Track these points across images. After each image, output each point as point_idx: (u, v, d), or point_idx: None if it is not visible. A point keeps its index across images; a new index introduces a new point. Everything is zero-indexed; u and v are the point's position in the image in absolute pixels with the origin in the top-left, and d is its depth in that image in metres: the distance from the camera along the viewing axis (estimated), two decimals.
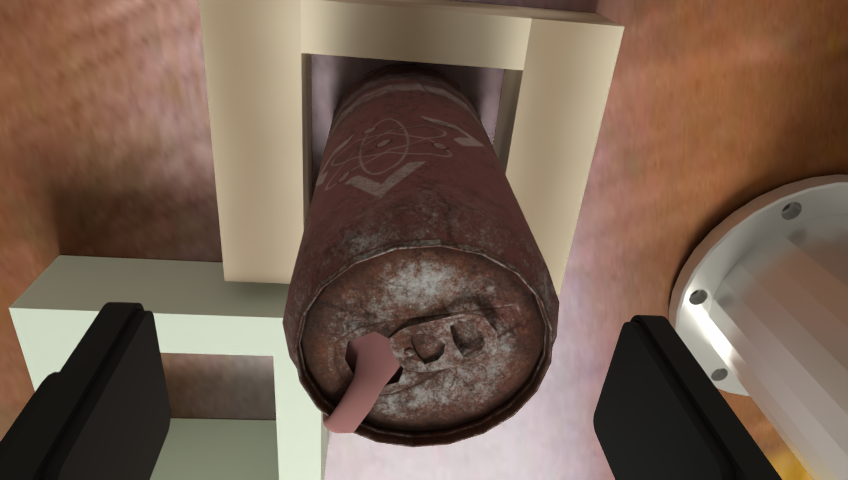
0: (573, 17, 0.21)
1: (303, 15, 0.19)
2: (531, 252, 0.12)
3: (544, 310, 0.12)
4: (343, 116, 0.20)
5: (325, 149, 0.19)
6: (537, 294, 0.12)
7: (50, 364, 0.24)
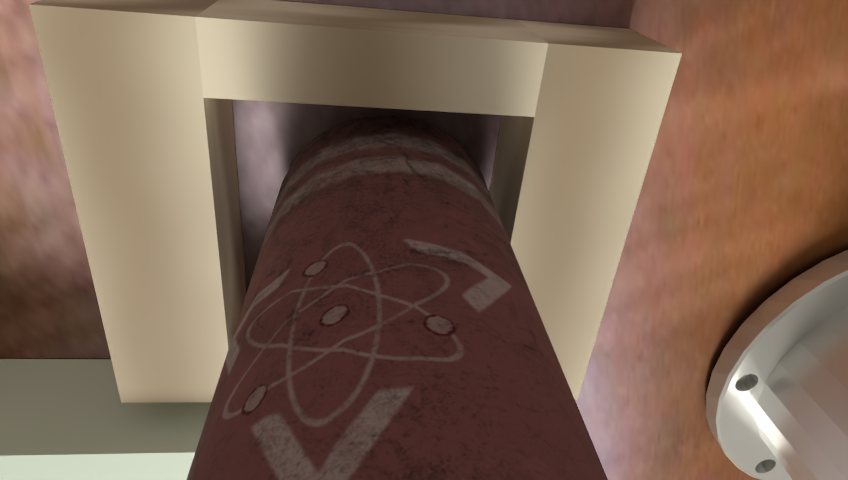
0: (604, 38, 0.14)
1: (202, 42, 0.12)
2: None
3: None
4: (285, 210, 0.13)
5: (256, 265, 0.12)
6: None
7: None
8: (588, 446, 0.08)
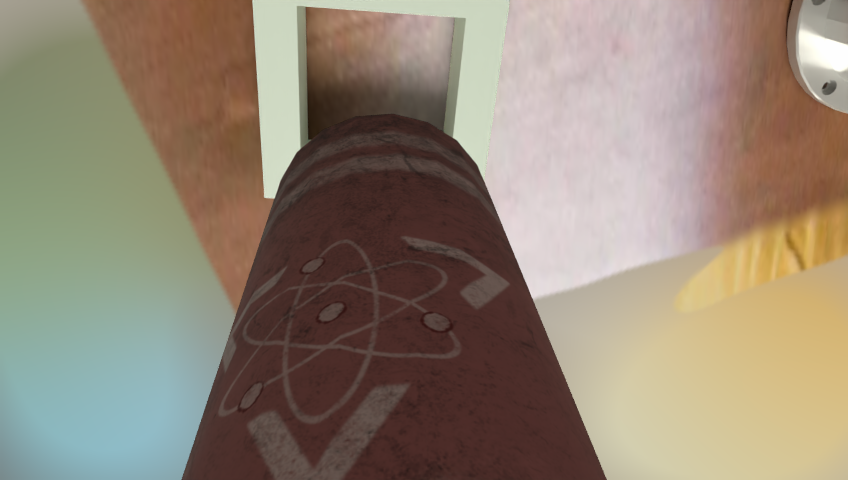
0: None
1: None
2: None
3: None
4: (283, 207, 0.13)
5: (253, 263, 0.12)
6: None
7: (274, 22, 0.27)
8: (586, 444, 0.08)
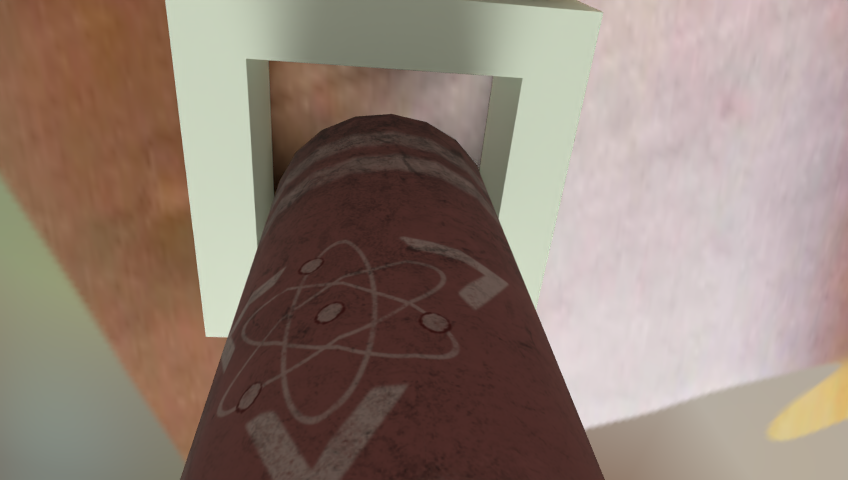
0: None
1: None
2: None
3: None
4: (282, 208, 0.13)
5: (252, 263, 0.12)
6: None
7: (209, 85, 0.17)
8: (584, 444, 0.08)
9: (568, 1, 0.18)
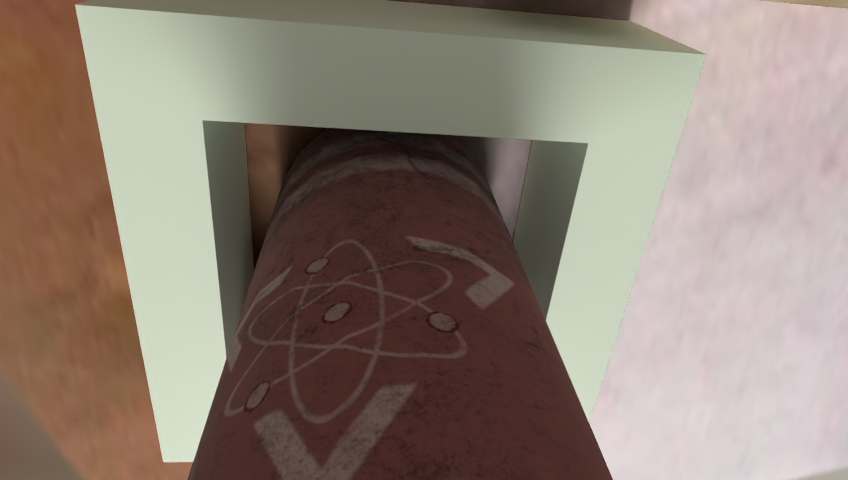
0: None
1: None
2: None
3: None
4: (286, 207, 0.13)
5: (257, 263, 0.12)
6: None
7: (152, 156, 0.12)
8: (592, 443, 0.08)
9: (647, 34, 0.13)
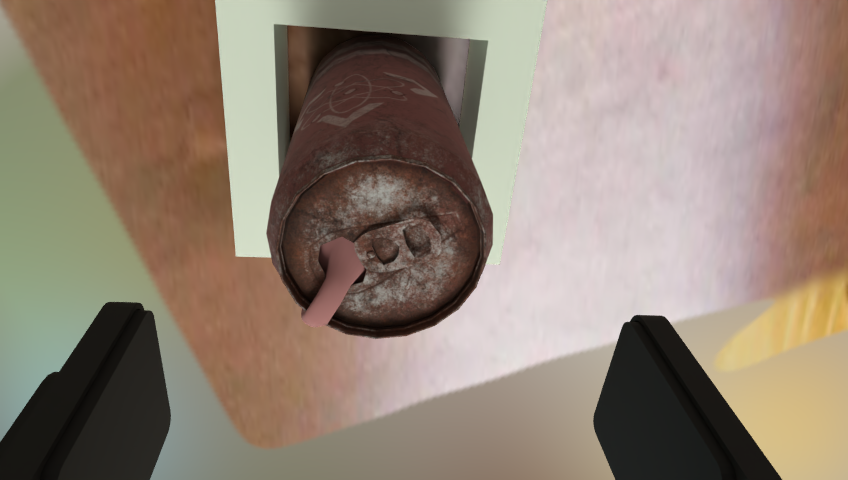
0: None
1: None
2: (467, 169, 0.15)
3: (478, 214, 0.15)
4: (318, 77, 0.22)
5: (302, 106, 0.22)
6: (471, 201, 0.14)
7: (245, 45, 0.21)
8: (462, 143, 0.17)
9: None
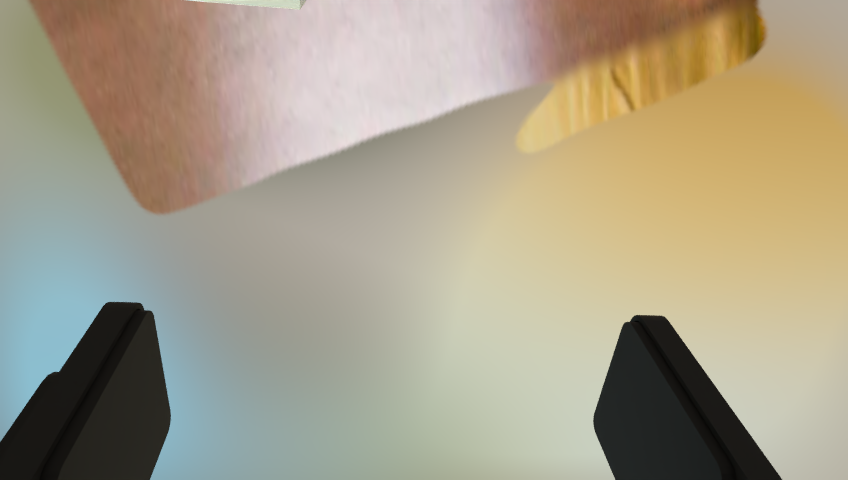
0: None
1: None
2: None
3: None
4: None
5: None
6: None
7: None
8: None
9: None
